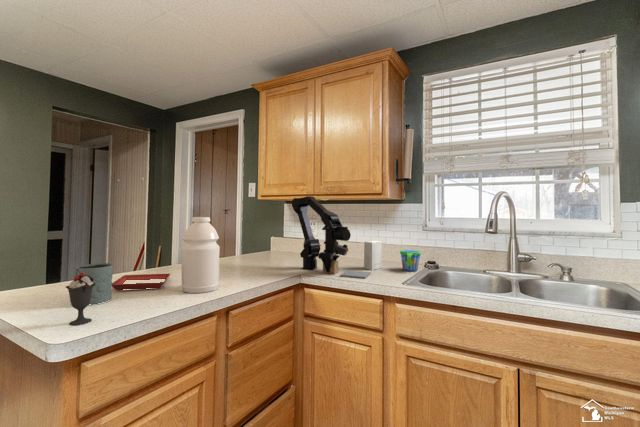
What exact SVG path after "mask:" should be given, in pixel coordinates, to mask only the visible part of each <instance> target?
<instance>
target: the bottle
mask: <svg viewBox="0 0 640 427" xmlns="http://www.w3.org/2000/svg"><path fill="white" fill-rule="evenodd" d="M191 222H192V224H190V225H189V226H188V228H187V229H186V230H185V231H184V234H183V236H182V240H183V241H184V242H185V243H184V245H183V246H181V285H180V288H181V291H183V293H187V292H188V294H203V293H208V292H214V291H216V290H218V289H219V288H220V253H221V252H220V251H221V250H220V248H221V247H220V245H219V244H218V242H217V241H218V240H219V239H220V237H219V234H218V232H217V230H216V228H215V227H214V226H213V225H212V224H211V217H209V216H193V217H192V218H191Z"/></svg>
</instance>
